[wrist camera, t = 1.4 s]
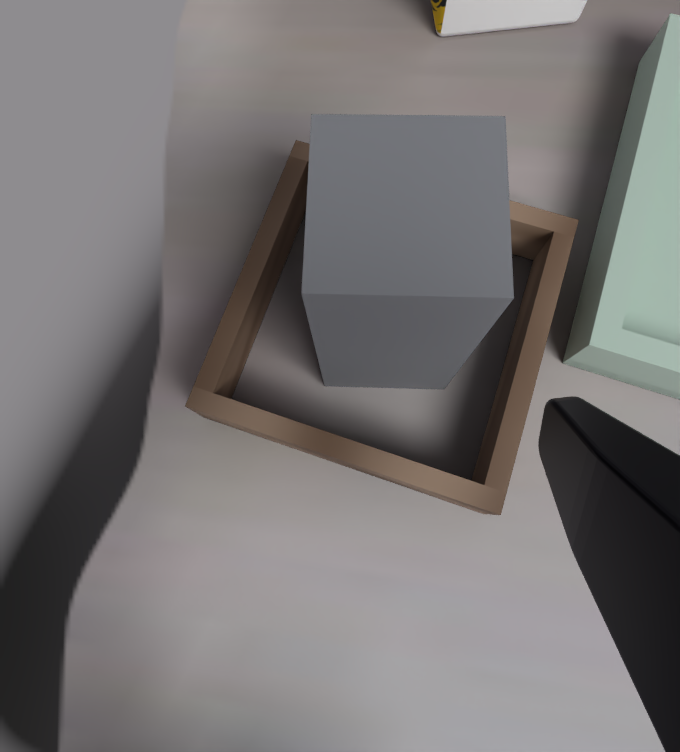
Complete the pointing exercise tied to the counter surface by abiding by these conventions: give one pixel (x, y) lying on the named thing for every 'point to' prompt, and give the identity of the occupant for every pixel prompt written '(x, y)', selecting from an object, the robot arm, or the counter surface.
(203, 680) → the counter surface
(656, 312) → the mint green tray
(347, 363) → the grey peg
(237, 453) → the counter surface
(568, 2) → the medicine bottle
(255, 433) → the walnut collar
